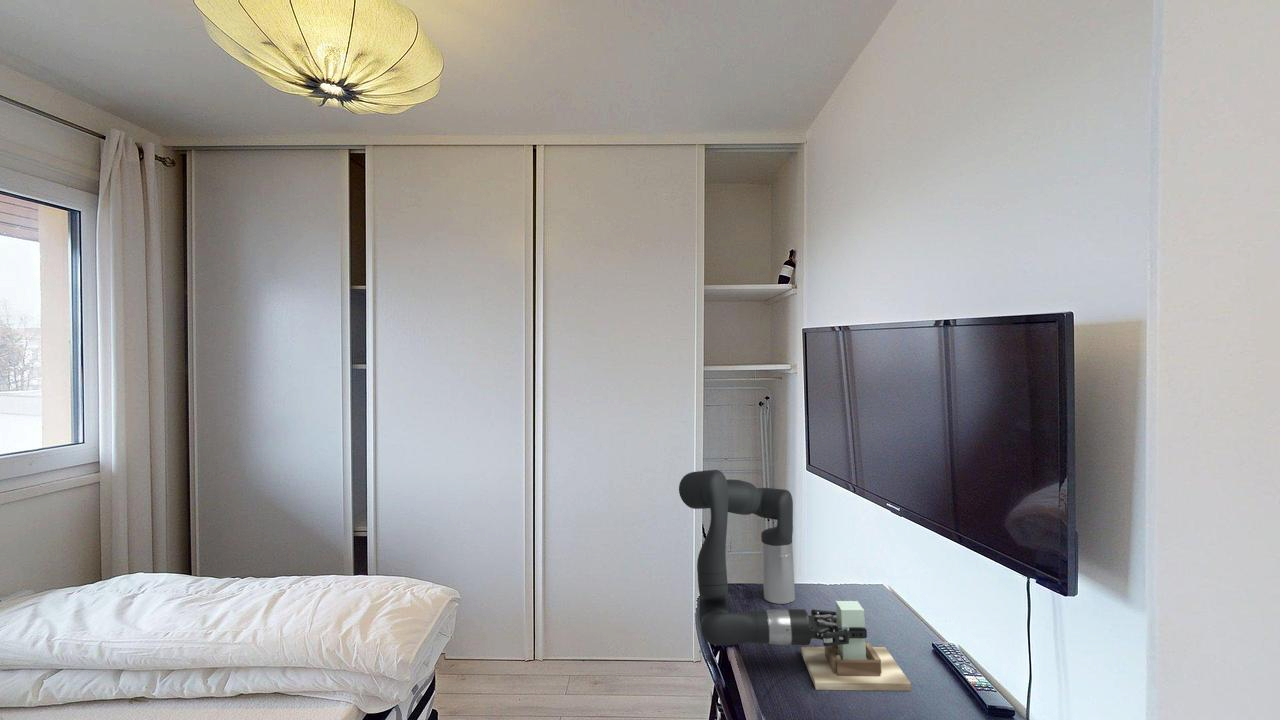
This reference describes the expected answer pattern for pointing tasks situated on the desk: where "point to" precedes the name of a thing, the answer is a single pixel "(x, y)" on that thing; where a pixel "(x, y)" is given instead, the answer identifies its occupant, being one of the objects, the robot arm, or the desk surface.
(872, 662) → the socket board
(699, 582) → the robot arm
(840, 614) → the pillar
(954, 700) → the desk surface
